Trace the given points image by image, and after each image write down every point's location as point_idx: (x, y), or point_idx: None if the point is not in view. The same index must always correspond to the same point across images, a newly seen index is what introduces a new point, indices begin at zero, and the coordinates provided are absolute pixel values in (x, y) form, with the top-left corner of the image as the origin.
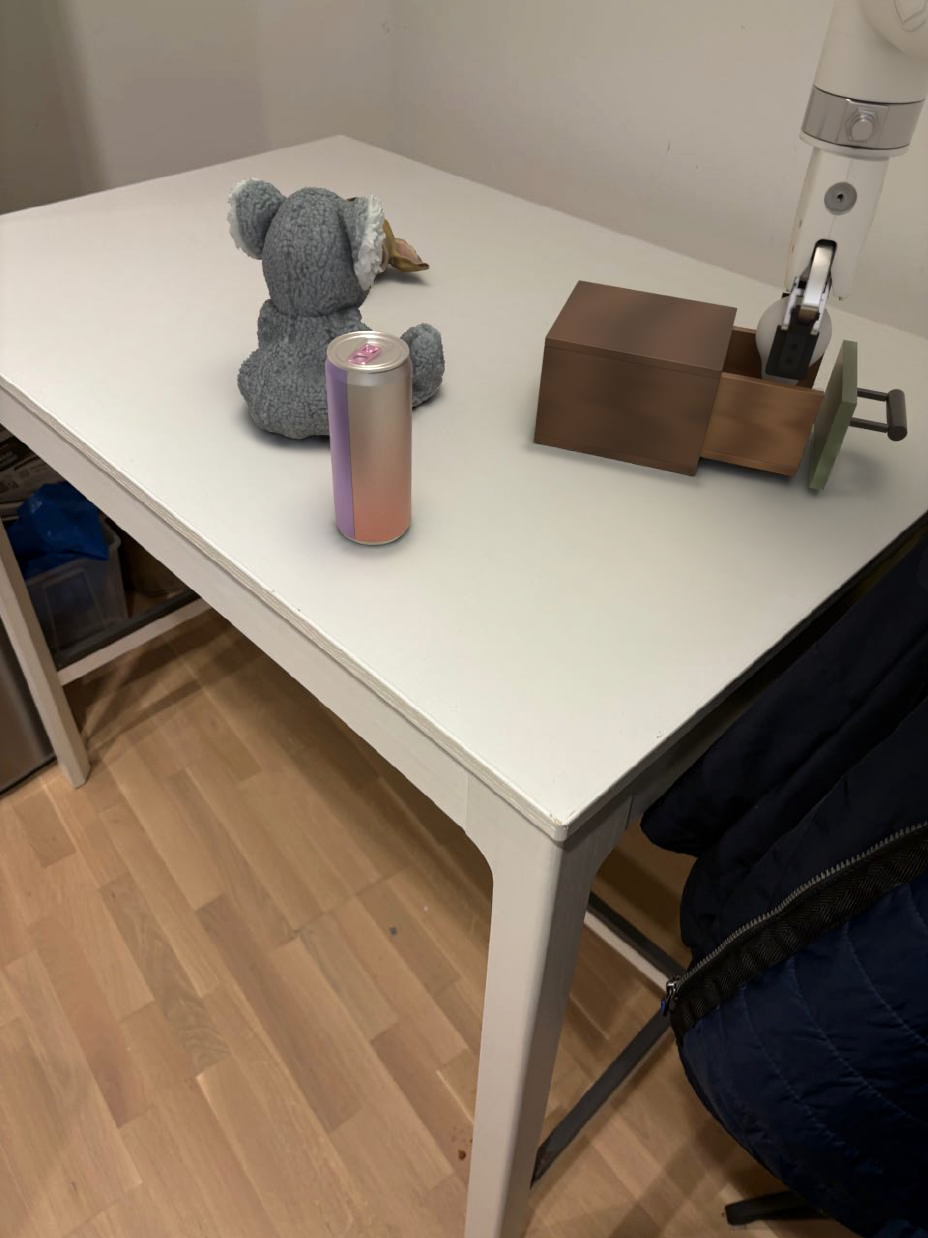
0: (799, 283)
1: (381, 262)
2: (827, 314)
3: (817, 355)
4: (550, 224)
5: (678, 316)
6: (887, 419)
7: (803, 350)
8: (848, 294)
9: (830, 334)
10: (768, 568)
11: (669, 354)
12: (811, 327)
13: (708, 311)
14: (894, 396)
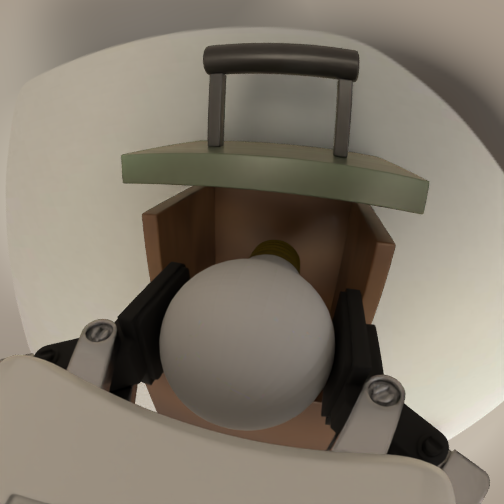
0: (120, 381)
1: None
2: (239, 346)
3: (314, 290)
4: (36, 347)
5: (209, 422)
6: (308, 75)
7: (380, 358)
8: (449, 482)
9: (273, 295)
10: (489, 232)
11: (328, 440)
12: (423, 420)
13: (173, 394)
14: (234, 61)
